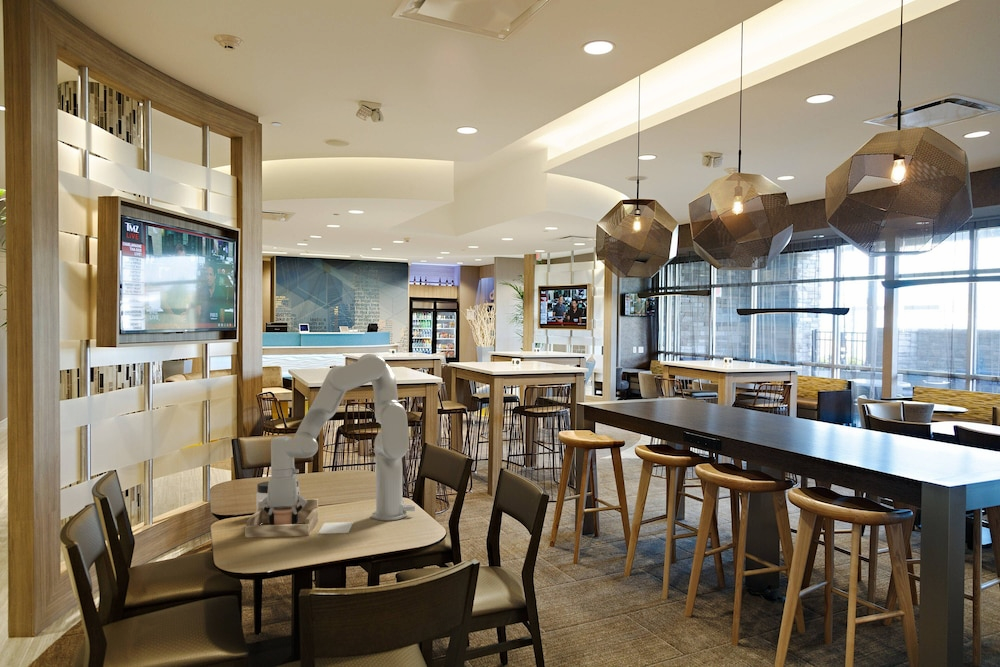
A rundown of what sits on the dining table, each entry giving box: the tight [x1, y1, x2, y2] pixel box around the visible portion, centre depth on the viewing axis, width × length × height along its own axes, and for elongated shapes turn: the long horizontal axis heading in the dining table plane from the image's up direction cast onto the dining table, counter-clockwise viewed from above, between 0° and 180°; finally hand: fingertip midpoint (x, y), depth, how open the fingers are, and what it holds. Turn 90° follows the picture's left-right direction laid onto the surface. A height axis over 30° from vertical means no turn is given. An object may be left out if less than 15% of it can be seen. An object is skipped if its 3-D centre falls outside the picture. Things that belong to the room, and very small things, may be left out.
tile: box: [317, 521, 354, 535], centre depth 224 cm, size 10×12×1 cm
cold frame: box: [244, 498, 319, 538], centre depth 224 cm, size 20×16×8 cm
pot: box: [272, 507, 293, 525], centre depth 224 cm, size 7×7×7 cm
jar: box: [255, 480, 269, 511], centre depth 240 cm, size 9×8×12 cm
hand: (283, 525), depth 224 cm, fingers closed on pot, 6 cm apart
